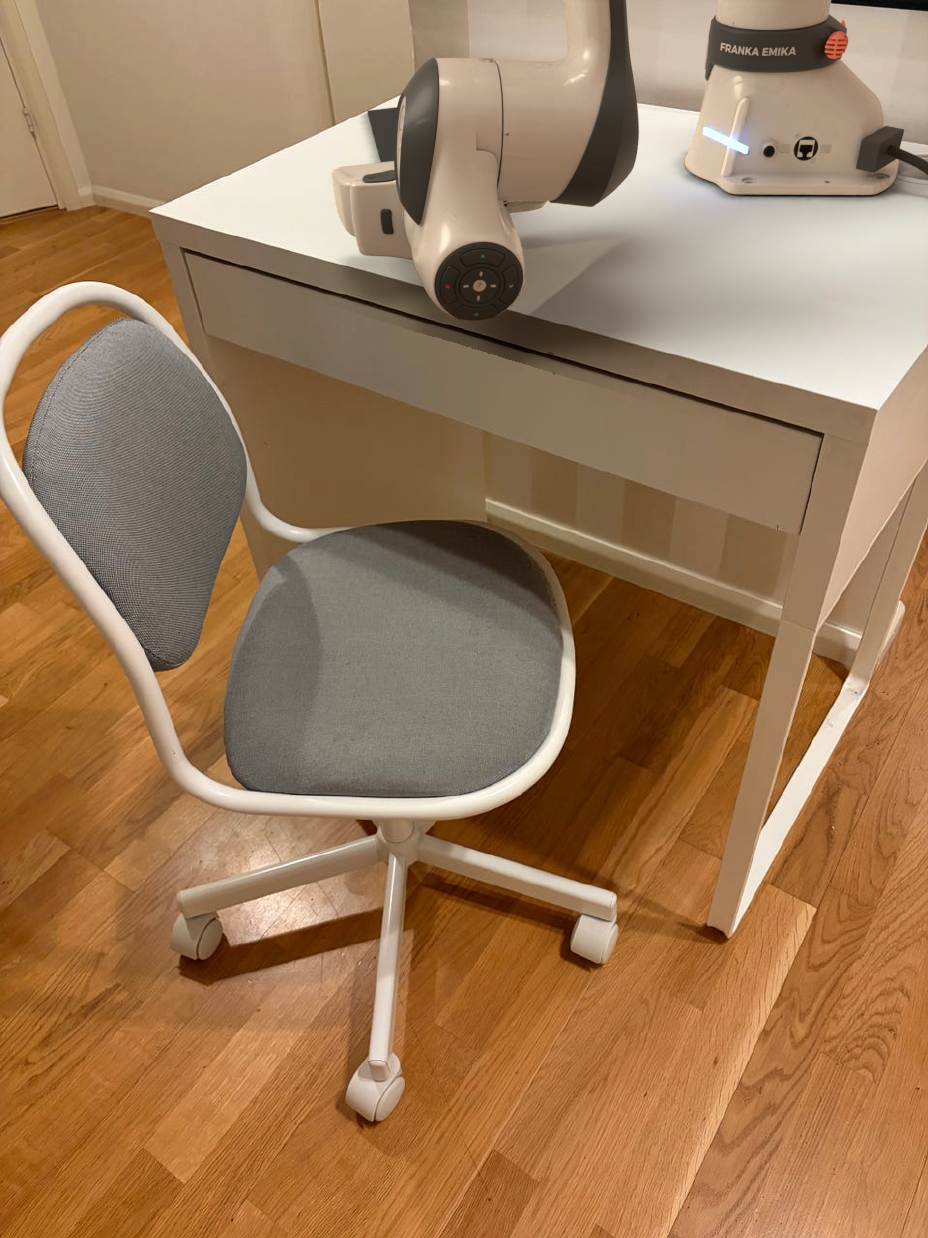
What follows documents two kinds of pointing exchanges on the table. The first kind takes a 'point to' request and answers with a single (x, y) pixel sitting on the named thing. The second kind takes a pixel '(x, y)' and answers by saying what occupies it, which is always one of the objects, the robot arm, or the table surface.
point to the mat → (383, 131)
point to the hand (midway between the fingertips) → (431, 158)
